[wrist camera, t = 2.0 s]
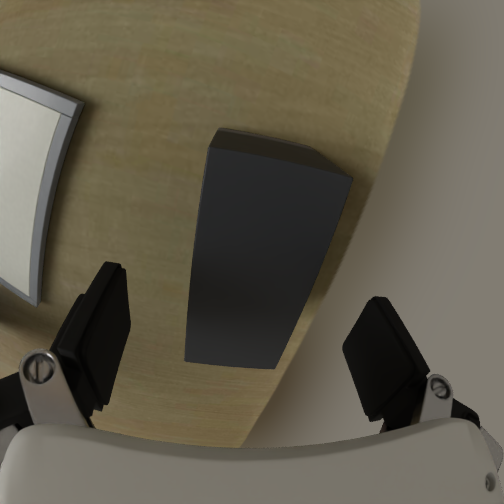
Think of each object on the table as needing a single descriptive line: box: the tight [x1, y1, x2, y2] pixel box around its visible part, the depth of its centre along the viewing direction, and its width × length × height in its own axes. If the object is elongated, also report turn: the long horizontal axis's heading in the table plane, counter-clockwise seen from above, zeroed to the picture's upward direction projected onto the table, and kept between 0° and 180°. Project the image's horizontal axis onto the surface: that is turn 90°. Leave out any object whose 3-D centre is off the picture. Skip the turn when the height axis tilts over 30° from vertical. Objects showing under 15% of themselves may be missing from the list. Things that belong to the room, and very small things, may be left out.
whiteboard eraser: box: [184, 128, 353, 369], centre depth 13 cm, size 10×5×6 cm, turn 168°
